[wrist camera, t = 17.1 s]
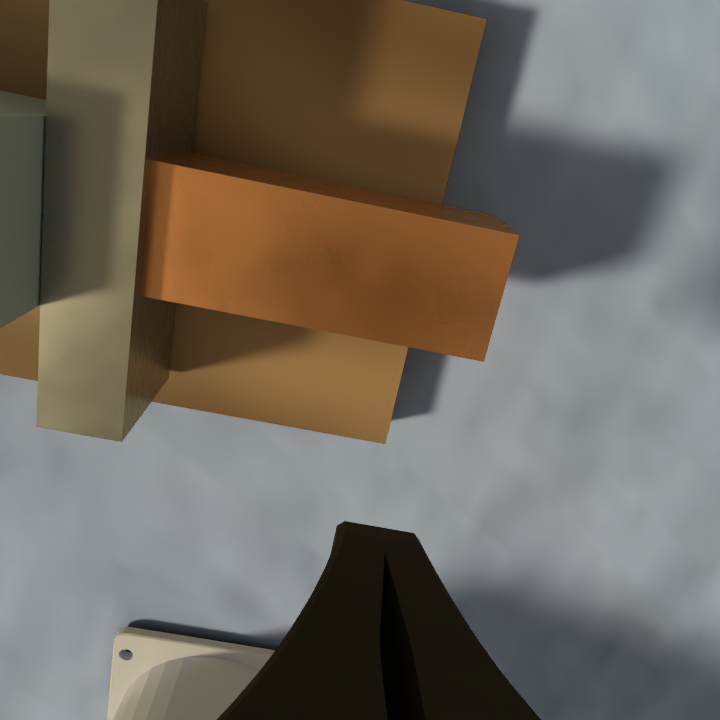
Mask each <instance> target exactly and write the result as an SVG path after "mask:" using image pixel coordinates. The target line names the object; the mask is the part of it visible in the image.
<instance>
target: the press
mask: <svg viewBox="0 0 720 720" xmlns="http://www.w3.org/2000/svg"><path fill="white" fill-rule="evenodd" d="M206 1H207V2H208V10H207V19H206V29H205V38H204V48H203V57H202V67H201V76H200V86H199V95H198V105H197V114H196V124H195V133H194V143H193V152H192V153H195V154H199V155H204V156H209V157H214V158H219V159H224V160H229V161H234V162H238V163H243V164H248V165H253V166H258V167H263V168H268V169H272V170H277V171H282V172H287V173H292V174H297V175H302V176H306V177H311V178H316V179H321V180H326V181H331V182H336V183H341V184H345V185H350V186H355V187H360V188H365V189H370V190H375V191H379V192H384V193H389V194H394V195H399V196H404V197H409V198H413V199H418V200H423V201H428V202H433V203H438V204H443V200H444V196H445V191H446V187H447V183H448V179H449V175H450V171H451V166H452V162H453V158H454V154H455V150H456V145H457V141H458V137H459V133H460V129H461V124H462V120H463V116H464V112H465V108H466V104H467V99H468V95H469V91H470V87H471V83H472V78H473V74H474V70H475V66H476V62H477V57H478V53H479V49H480V45H481V41H482V36H483V32H484V28H485V24H486V20H487V19H485V18H480V17H476V16H471V15H467V14H462V13H458V12H454V11H449V10H445V9H440V8H436V7H431V6H427V5H422V4H418V3H413V2H409V1H405V0H206ZM48 31H49V0H0V90H1V91H6V92H10V93H15V94H20V95H25V96H30V97H34V98H39V99H44V100H46V97H47V64H48ZM39 329H40V305H39V306H37V307H36V308H34V309H32V310H31V311H29V312H27V313H26V314H24V315H22V316H21V317H19V318H17V319H16V320H14V321H12V322H11V323H9V324H7V325H5V326H4V327H2V328H0V374H3V375H8V376H14V377H19V378H25V379H30V380H36V381H38V362H39ZM407 351H408V347H405V346H399V345H394V344H389V343H384V342H379V341H373V340H368V339H363V338H358V337H352V336H347V335H342V334H337V333H332V332H326V331H321V330H316V329H311V328H305V327H300V326H295V325H290V324H284V323H279V322H274V321H269V320H264V319H258V318H253V317H248V316H243V315H237V314H232V313H227V312H222V311H217V310H211V309H206V308H201V307H196V306H190V305H185V304H180V303H177V304H176V314H175V323H174V333H173V342H172V352H171V361H170V371H169V379H168V380H167V381H166V383H165V384H164V385H163V387H162V388H161V389H160V391H159V392H158V393H157V395H156V396H155V398H154V399H153V400H152V402H157V403H163V404H168V405H174V406H179V407H185V408H190V409H196V410H201V411H207V412H212V413H218V414H223V415H229V416H234V417H240V418H245V419H251V420H256V421H262V422H267V423H273V424H278V425H284V426H289V427H295V428H300V429H306V430H311V431H317V432H322V433H328V434H333V435H339V436H344V437H350V438H355V439H361V440H366V441H372V442H377V443H383V444H385V443H386V439H387V434H388V430H389V426H390V422H391V418H392V414H393V409H394V405H395V401H396V397H397V393H398V388H399V384H400V380H401V376H402V372H403V367H404V363H405V359H406V355H407Z"/></svg>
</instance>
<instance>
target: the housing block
mask: <svg viewBox="0 0 720 720" xmlns="http://www.w3.org/2000/svg"><path fill="white" fill-rule="evenodd" d="M45 130H46V100H44V99H39V98H34V97H30V96H25V95H20V94H15V93H10V92H6V91H1V90H0V328H2V327H4V326H5V325H7V324H9V323H11V322H12V321H14V320H16V319H17V318H19V317H21V316H22V315H24V314H26V313H27V312H29V311H31V310H32V309H34V308H36V307H37V306H39V305H40V295H41V262H42V229H43V196H44V163H45Z"/></svg>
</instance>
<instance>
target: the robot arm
mask: <svg viewBox="0 0 720 720" xmlns="http://www.w3.org/2000/svg"><path fill="white" fill-rule="evenodd" d="M124 649H127V650H130V651H131V652H127V651H125V650H124ZM107 720H541V719H540V718H539V717H538V716H537V715H536V713H535V712H534V711H533V710H532V709H531V707H530V706H529V705H528V704H527V703H526V702H525V700H524V699H523V698H522V697H521V696H520V695H519V693H518V692H517V691H516V690H515V689H514V687H513V686H512V685H511V684H510V683H509V681H508V680H507V679H506V677H505V676H504V675H503V674H502V672H501V671H500V670H499V669H498V667H497V666H496V664H495V663H494V662H493V660H492V659H491V657H490V656H489V655H488V653H487V652H486V650H485V649H484V648H483V646H482V645H481V643H480V642H479V640H478V639H477V637H476V636H475V634H474V633H473V632H472V630H471V629H470V627H469V625H468V624H467V622H466V621H465V619H464V617H463V616H462V614H461V613H460V611H459V610H458V608H457V606H456V605H455V603H454V602H453V600H452V598H451V597H450V595H449V593H448V592H447V590H446V588H445V587H444V585H443V583H442V581H441V580H440V578H439V576H438V574H437V573H436V571H435V569H434V567H433V565H432V564H431V562H430V560H429V558H428V556H427V554H426V553H425V551H424V549H423V547H422V545H421V543H420V541H419V540H418V538H417V537H416V535H415V534H414V533H410V532H404V531H398V530H392V529H387V528H381V527H375V526H369V525H363V524H358V523H352V522H346V521H344V522H343V523H341V524H339V525H337V528H336V533H335V537H334V542H333V546H332V551H331V555H330V558H329V560H328V562H327V565H326V567H325V569H324V571H323V573H322V575H321V577H320V579H319V581H318V583H317V585H316V587H315V589H314V591H313V593H312V595H311V597H310V598H309V600H308V602H307V603H306V605H305V607H304V608H303V610H302V611H301V613H300V615H299V616H298V618H297V619H296V621H295V623H294V624H293V626H292V627H291V629H290V630H289V632H288V633H287V635H286V636H285V638H284V639H283V640H282V642H281V643H280V645H279V646H278V647H277V649H276V650H271V649H264V648H258V647H252V646H246V645H239V644H233V643H227V642H221V641H214V640H208V639H202V638H196V637H189V636H183V635H177V634H171V633H164V632H158V631H152V630H146V629H139V628H133V627H125V628H122V629H120V630H119V631H118V633H117V635H116V637H115V640H114V646H113V657H112V669H111V680H110V692H109V703H108V715H107Z"/></svg>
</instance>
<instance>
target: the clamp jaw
mask: <svg viewBox="0 0 720 720" xmlns="http://www.w3.org/2000/svg"><path fill="white" fill-rule="evenodd" d="M207 10H208V2H207V1H206V0H49V31H48V64H47V97H46V130H45V163H44V196H43V229H42V262H41V295H40V329H39V362H38V395H37V427H41V428H46V429H52V430H58V431H63V432H69V433H75V434H80V435H86V436H92V437H97V438H103V439H108V440H114V441H120V442H122V441H123V440H124V438H125V437H126V436H127V434H128V433H129V431H130V430H131V429H132V427H133V426H134V425H135V423H136V422H137V421H138V419H139V418H140V417H141V415H142V414H143V412H144V411H145V410H146V408H147V407H148V406H149V404H150V403H151V402H152V400H153V399H154V398H155V396H156V395H157V393H158V392H159V391H160V389H161V388H162V387H163V385H164V384H165V383H166V381H167V380H168V379H169V371H170V361H171V352H172V342H173V333H174V323H175V314H176V304H177V303H180V304H185V305H190V306H196V307H201V308H206V309H211V310H217V311H222V312H227V313H232V314H237V315H243V316H248V317H253V318H258V319H264V320H269V321H274V322H279V323H284V324H290V325H295V326H300V327H305V328H311V329H316V330H321V331H326V332H332V333H337V334H342V335H347V336H352V337H358V338H363V339H368V340H373V341H379V342H384V343H389V344H394V345H399V346H405V347H410V348H415V349H420V350H426V351H431V352H436V353H441V354H447V355H452V356H457V357H462V358H467V359H473V360H478V361H483V362H484V359H485V355H486V352H487V348H488V344H489V341H490V337H491V334H492V330H493V327H494V323H495V320H496V316H497V313H498V309H499V306H500V302H501V299H502V295H503V292H504V288H505V285H506V281H507V277H508V274H509V270H510V267H511V263H512V260H513V256H514V253H515V249H516V246H517V242H518V239H519V234H517V233H516V232H515V231H514V230H512V229H511V228H510V227H509V226H507V225H506V224H505V223H504V222H502V221H501V220H500V219H499V218H497V217H496V216H495V215H491V214H486V213H482V212H477V211H472V210H467V209H462V208H457V207H452V206H448V205H443V204H438V203H433V202H428V201H423V200H418V199H413V198H409V197H404V196H399V195H394V194H389V193H384V192H379V191H375V190H370V189H365V188H360V187H355V186H350V185H345V184H341V183H336V182H331V181H326V180H321V179H316V178H311V177H306V176H302V175H297V174H292V173H287V172H282V171H277V170H272V169H268V168H263V167H258V166H253V165H248V164H243V163H238V162H234V161H229V160H224V159H219V158H214V157H209V156H204V155H199V154H195V153H192V152H193V143H194V133H195V124H196V114H197V105H198V95H199V86H200V76H201V67H202V57H203V48H204V38H205V29H206V19H207Z"/></svg>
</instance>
